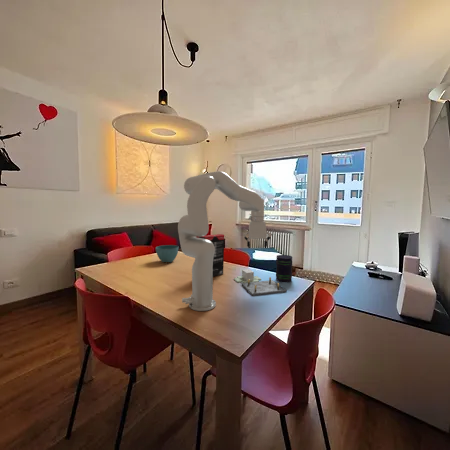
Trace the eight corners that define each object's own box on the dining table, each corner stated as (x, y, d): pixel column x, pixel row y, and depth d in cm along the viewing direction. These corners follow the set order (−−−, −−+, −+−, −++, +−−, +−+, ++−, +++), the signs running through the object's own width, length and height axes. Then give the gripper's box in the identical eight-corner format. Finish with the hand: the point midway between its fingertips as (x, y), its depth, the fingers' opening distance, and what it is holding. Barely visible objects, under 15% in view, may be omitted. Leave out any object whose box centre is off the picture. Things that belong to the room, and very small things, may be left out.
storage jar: (291, 278, 147) (292, 255, 146) (291, 283, 138) (292, 259, 136) (276, 276, 150) (276, 254, 149) (275, 281, 141) (275, 257, 139)
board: (239, 285, 135) (239, 274, 135) (232, 278, 147) (232, 269, 146) (263, 282, 140) (263, 272, 140) (255, 276, 152) (255, 267, 151)
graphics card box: (217, 271, 160) (217, 233, 157) (224, 274, 155) (224, 234, 152) (198, 277, 148) (198, 235, 145) (205, 279, 143) (205, 236, 140)
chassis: (252, 295, 119) (252, 288, 118) (241, 285, 134) (241, 278, 134) (286, 291, 124) (286, 284, 124) (272, 282, 140) (272, 275, 139)
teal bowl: (151, 263, 180) (151, 248, 178) (161, 258, 197) (161, 244, 196) (173, 265, 177) (173, 249, 175) (181, 259, 194) (181, 245, 193)
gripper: (243, 219, 130) (243, 249, 132) (273, 219, 130) (272, 249, 132) (242, 218, 138) (242, 246, 140) (270, 218, 138) (270, 246, 140)
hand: (257, 247), depth 136 cm, fingers open, 9 cm apart
